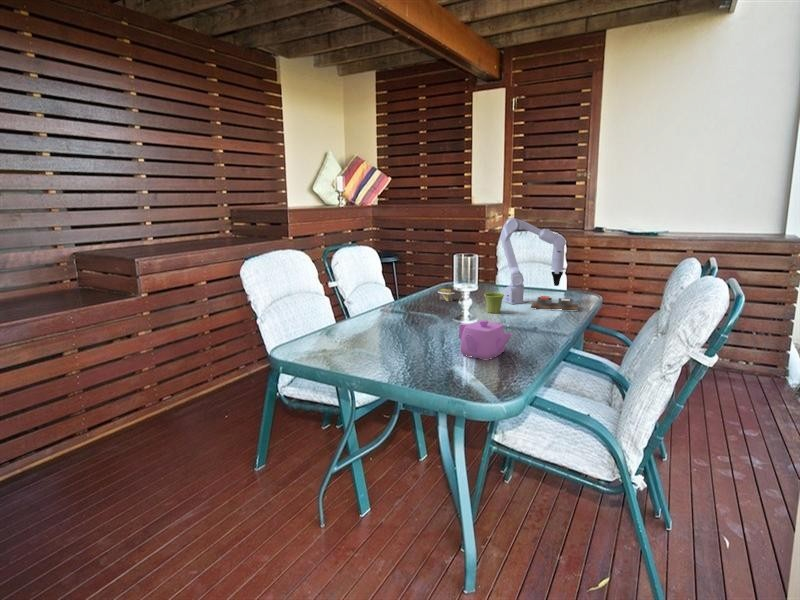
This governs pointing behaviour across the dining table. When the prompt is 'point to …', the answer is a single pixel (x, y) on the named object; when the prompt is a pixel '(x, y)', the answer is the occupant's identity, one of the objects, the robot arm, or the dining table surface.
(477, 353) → the teakettle
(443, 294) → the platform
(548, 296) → the red button
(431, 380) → the dining table surface
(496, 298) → the plant pot
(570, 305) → the block
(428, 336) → the dining table surface
